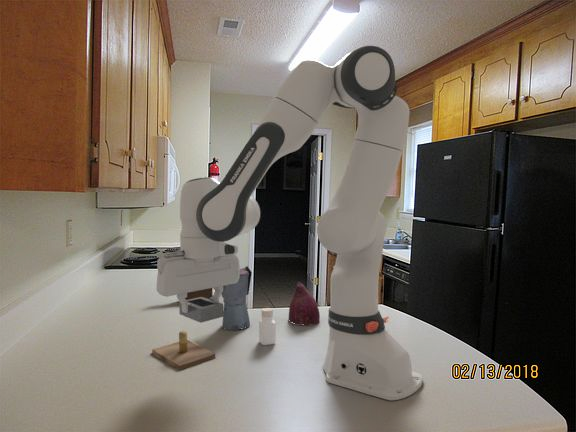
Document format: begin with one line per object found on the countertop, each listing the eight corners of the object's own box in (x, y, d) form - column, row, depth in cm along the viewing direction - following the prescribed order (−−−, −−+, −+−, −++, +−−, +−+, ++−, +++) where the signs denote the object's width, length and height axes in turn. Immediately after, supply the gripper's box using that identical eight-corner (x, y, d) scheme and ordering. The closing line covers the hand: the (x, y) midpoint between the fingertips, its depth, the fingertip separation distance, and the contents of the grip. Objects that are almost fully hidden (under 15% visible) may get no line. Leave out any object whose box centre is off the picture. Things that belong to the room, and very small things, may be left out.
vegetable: (303, 337, 120) (298, 295, 116) (283, 324, 128) (277, 284, 124) (327, 322, 126) (323, 282, 122) (306, 311, 134) (302, 273, 130)
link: (223, 316, 87) (223, 303, 87) (200, 322, 83) (200, 309, 82) (201, 308, 93) (201, 296, 93) (179, 314, 89) (179, 301, 89)
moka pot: (208, 330, 117) (208, 265, 116) (238, 316, 130) (237, 259, 130) (234, 335, 112) (233, 268, 112) (261, 321, 126) (261, 261, 125)
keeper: (215, 357, 97) (215, 334, 96) (179, 370, 90) (179, 344, 89) (186, 343, 106) (186, 321, 106) (152, 353, 99) (151, 330, 99)
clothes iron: (173, 298, 155) (172, 266, 154) (212, 296, 158) (212, 264, 157) (171, 304, 147) (170, 269, 146) (213, 301, 150) (212, 268, 150)
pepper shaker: (271, 339, 109) (271, 306, 109) (276, 344, 105) (276, 310, 105) (258, 341, 108) (258, 308, 107) (262, 346, 104) (262, 312, 104)
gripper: (164, 254, 78) (165, 321, 78) (243, 246, 92) (243, 302, 93) (150, 251, 82) (151, 315, 83) (227, 244, 97) (228, 297, 97)
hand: (201, 308), depth 88 cm, fingers closed on link, 6 cm apart
